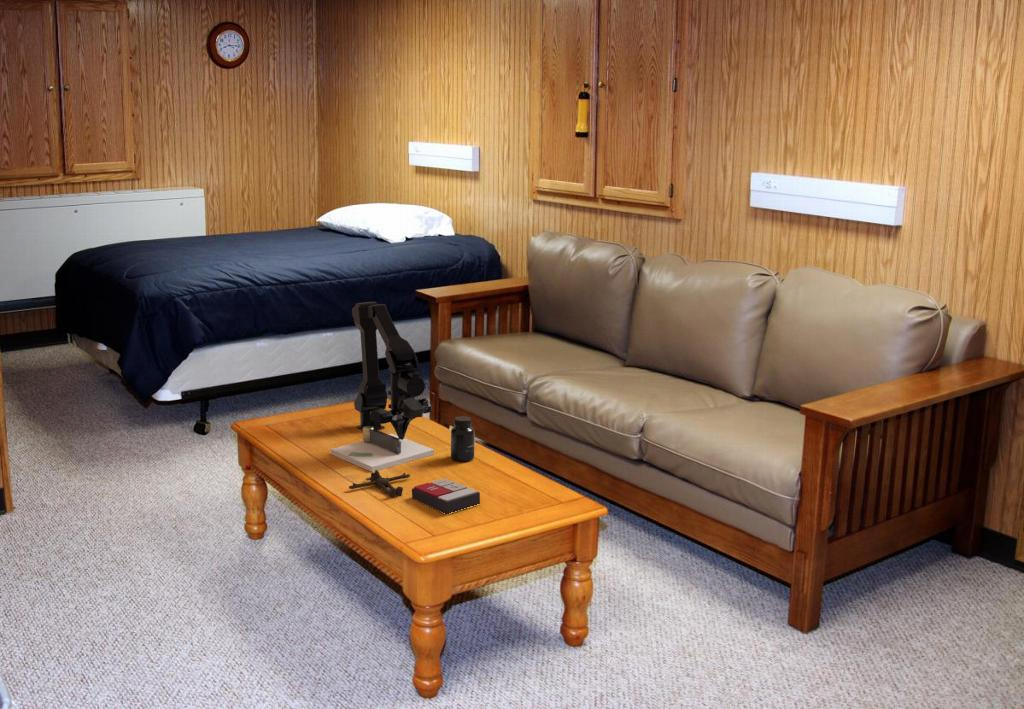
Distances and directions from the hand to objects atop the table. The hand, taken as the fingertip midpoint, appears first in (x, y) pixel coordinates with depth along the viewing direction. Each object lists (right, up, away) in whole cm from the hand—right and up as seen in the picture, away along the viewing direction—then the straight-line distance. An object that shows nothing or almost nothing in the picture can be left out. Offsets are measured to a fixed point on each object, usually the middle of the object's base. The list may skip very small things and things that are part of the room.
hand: (401, 439), depth 316 cm
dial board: (-5, -4, -4) cm, 8 cm away
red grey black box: (+15, -13, -38) cm, 43 cm away
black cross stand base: (-1, -11, -30) cm, 32 cm away
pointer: (-5, -2, -3) cm, 6 cm away
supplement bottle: (+18, -5, -6) cm, 20 cm away
